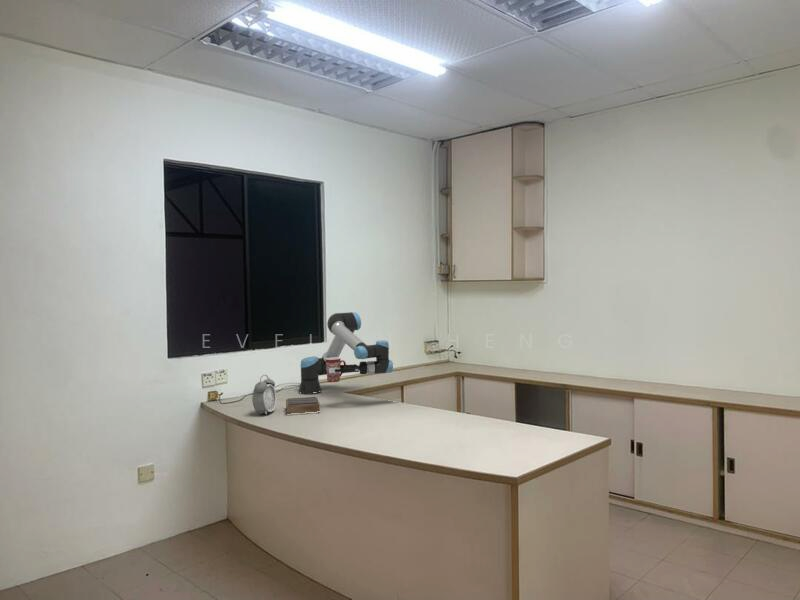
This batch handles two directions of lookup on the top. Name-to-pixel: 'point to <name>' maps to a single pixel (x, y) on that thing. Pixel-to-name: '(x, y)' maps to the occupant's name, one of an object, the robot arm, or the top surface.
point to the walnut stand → (302, 405)
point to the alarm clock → (264, 396)
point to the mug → (333, 363)
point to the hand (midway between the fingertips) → (328, 369)
